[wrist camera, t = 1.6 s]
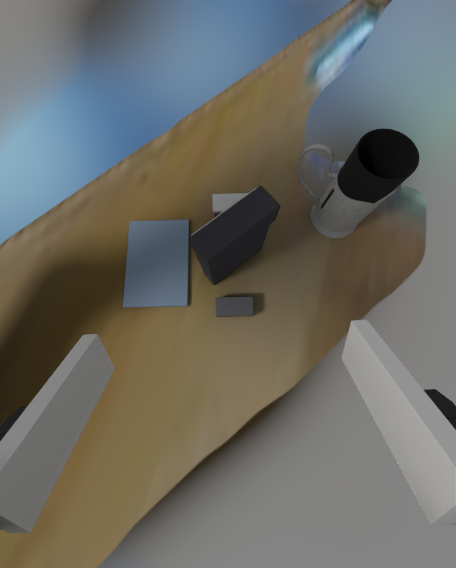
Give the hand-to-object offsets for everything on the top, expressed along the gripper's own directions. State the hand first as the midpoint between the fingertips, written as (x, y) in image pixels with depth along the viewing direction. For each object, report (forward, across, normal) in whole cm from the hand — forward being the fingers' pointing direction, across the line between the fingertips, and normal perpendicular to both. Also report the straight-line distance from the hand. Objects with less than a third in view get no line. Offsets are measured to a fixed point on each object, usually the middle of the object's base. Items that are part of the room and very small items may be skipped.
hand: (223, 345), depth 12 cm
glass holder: (+35, +17, -3) cm, 39 cm away
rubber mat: (+28, -13, -8) cm, 32 cm away
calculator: (+29, 0, -8) cm, 30 cm away
